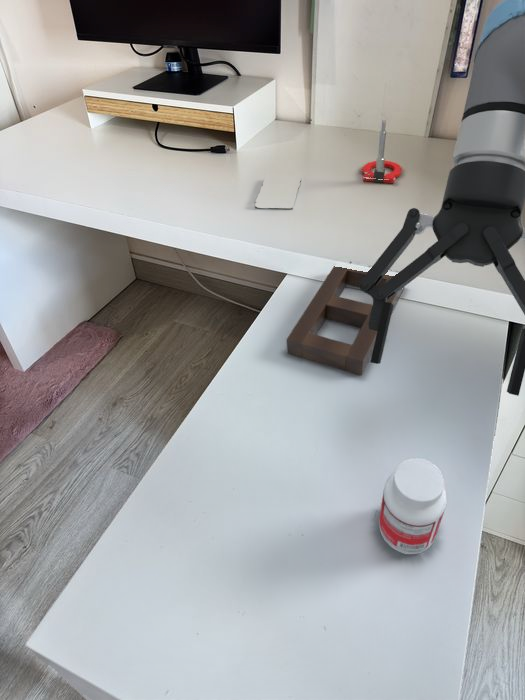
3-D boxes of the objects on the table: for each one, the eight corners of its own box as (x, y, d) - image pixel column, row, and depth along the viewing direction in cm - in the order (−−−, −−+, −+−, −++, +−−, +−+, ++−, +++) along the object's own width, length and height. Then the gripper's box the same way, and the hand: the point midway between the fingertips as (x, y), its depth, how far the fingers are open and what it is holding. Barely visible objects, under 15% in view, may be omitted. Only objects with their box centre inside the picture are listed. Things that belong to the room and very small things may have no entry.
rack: (404, 287, 85) (406, 273, 83) (361, 375, 72) (362, 361, 70) (338, 272, 89) (338, 258, 87) (287, 353, 77) (286, 339, 75)
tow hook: (365, 164, 116) (358, 182, 110) (369, 105, 107) (362, 121, 101) (403, 166, 114) (397, 185, 108) (410, 106, 105) (405, 122, 99)
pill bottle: (407, 493, 59) (419, 440, 51) (447, 535, 55) (467, 485, 47) (366, 522, 57) (372, 472, 49) (405, 567, 53) (418, 521, 46)
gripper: (620, 196, 50) (567, 404, 51) (370, 170, 58) (331, 351, 59) (650, 171, 43) (587, 413, 44) (361, 146, 51) (316, 351, 52)
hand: (440, 378), depth 52 cm, fingers open, 13 cm apart
